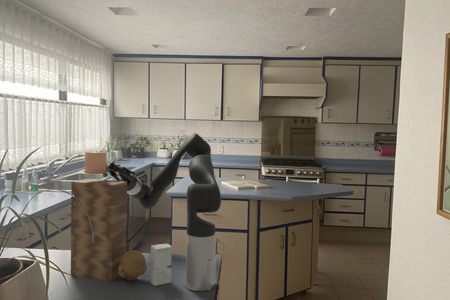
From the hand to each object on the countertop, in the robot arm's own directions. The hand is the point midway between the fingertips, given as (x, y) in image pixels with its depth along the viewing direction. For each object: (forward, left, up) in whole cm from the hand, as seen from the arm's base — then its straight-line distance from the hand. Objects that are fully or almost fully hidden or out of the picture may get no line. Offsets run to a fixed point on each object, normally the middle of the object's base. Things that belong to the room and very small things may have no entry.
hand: (106, 164), depth 126 cm
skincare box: (-25, +5, -38) cm, 45 cm away
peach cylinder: (0, +2, -2) cm, 3 cm away
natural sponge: (-16, +7, -38) cm, 41 cm away
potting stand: (-2, +6, -37) cm, 38 cm away
